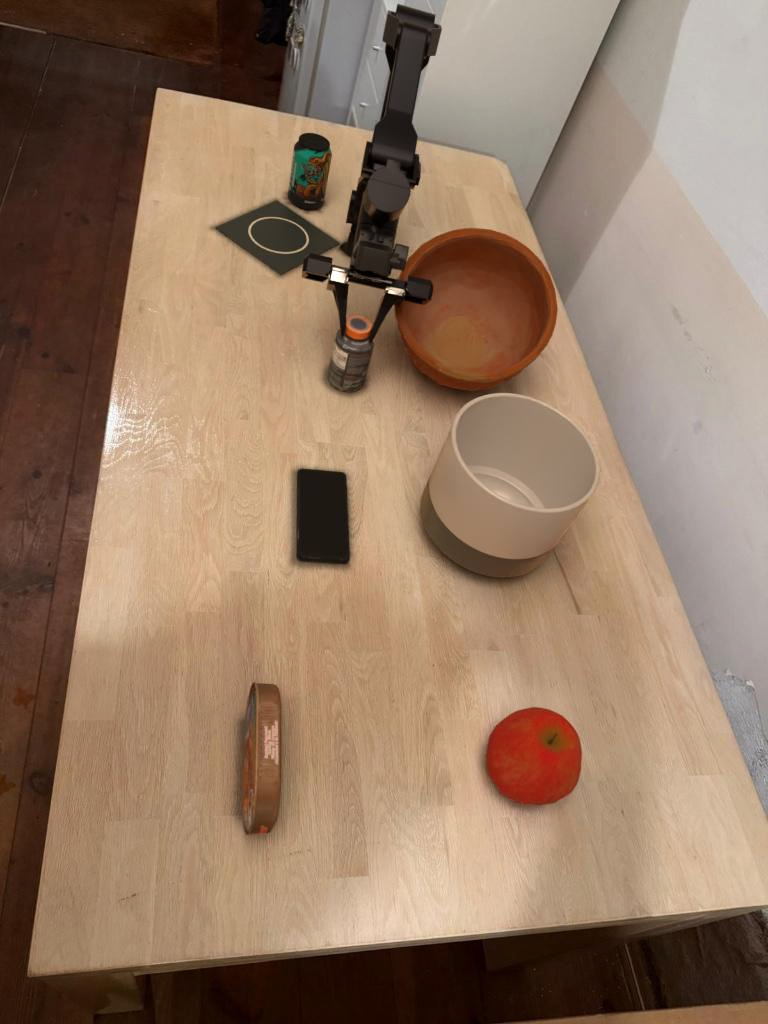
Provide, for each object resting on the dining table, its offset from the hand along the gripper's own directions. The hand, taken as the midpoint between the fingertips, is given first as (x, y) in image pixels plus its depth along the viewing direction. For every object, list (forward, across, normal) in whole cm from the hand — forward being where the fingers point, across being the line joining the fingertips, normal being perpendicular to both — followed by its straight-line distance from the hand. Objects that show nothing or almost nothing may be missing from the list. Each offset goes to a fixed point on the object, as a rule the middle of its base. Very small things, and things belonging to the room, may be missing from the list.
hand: (356, 339), depth 108 cm
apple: (+47, +26, -32) cm, 62 cm away
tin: (+50, -4, -35) cm, 61 cm away
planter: (+23, +22, -9) cm, 33 cm away
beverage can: (-28, -12, +42) cm, 52 cm away
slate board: (-18, -15, +32) cm, 40 cm away
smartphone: (+25, -1, -11) cm, 27 cm away
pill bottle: (+6, 0, +9) cm, 10 cm away
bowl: (-5, +19, +17) cm, 26 cm away
